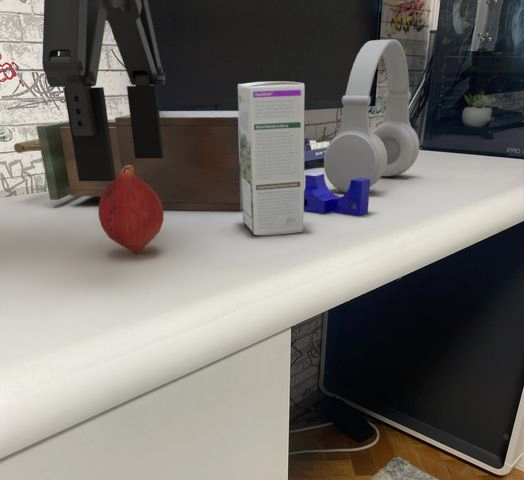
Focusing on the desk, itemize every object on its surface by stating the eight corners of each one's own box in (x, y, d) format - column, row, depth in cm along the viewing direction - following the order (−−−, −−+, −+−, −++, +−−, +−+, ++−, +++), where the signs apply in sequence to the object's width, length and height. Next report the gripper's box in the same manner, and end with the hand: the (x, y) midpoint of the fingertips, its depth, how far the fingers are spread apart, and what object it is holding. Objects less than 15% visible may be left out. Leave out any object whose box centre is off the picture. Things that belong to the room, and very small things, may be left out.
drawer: (15, 199, 70) (-2, 126, 66) (55, 183, 80) (43, 119, 76) (151, 201, 68) (143, 125, 64) (174, 184, 78) (169, 118, 74)
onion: (110, 264, 48) (96, 172, 44) (100, 248, 53) (87, 163, 49) (173, 256, 50) (165, 167, 46) (158, 241, 55) (150, 159, 51)
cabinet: (126, 209, 68) (114, 117, 63) (154, 190, 80) (147, 111, 75) (240, 211, 67) (237, 117, 62) (253, 191, 78) (251, 110, 73)
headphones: (369, 172, 92) (379, 44, 84) (417, 175, 88) (433, 41, 80) (320, 192, 77) (325, 37, 68) (375, 197, 73) (389, 34, 64)
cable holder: (297, 209, 67) (298, 176, 65) (313, 204, 70) (314, 172, 68) (353, 218, 63) (355, 183, 61) (367, 212, 65) (370, 179, 63)
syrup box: (305, 232, 57) (309, 81, 50) (251, 236, 56) (248, 82, 49) (289, 220, 62) (291, 80, 55) (240, 224, 61) (235, 81, 54)
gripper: (59, -241, 27) (118, 194, 36) (181, -96, 49) (198, 151, 58) (-80, -230, 27) (14, 194, 37) (102, -91, 49) (131, 151, 59)
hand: (126, 168), depth 48 cm, fingers open, 13 cm apart
